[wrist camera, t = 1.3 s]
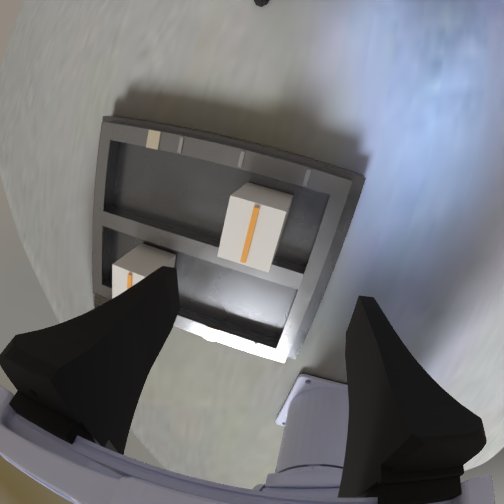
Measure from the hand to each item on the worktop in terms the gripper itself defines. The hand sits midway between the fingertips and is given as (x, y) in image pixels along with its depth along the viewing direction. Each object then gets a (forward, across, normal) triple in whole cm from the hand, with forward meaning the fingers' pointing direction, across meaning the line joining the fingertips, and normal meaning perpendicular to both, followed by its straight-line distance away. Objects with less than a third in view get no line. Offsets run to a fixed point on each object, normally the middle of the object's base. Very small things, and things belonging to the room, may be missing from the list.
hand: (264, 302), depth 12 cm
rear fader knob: (+9, +9, +6) cm, 14 cm away
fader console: (+10, +6, +4) cm, 12 cm away
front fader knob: (+9, +1, +1) cm, 9 cm away
